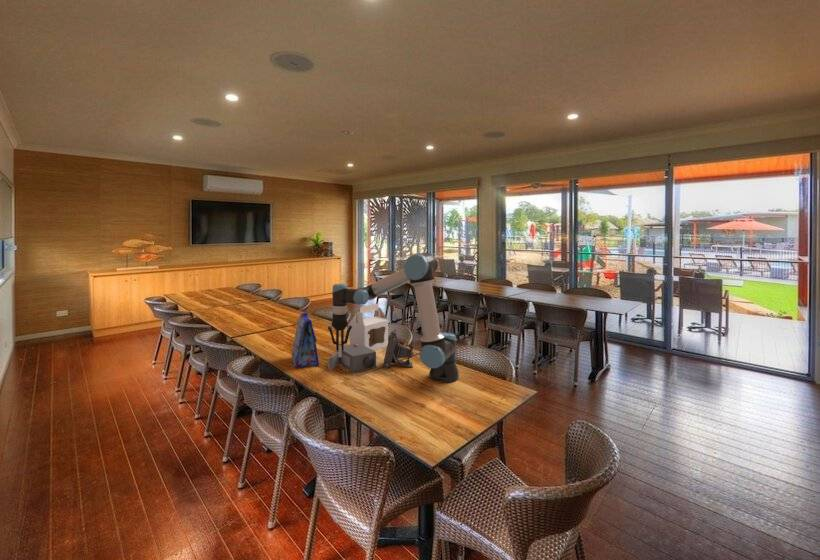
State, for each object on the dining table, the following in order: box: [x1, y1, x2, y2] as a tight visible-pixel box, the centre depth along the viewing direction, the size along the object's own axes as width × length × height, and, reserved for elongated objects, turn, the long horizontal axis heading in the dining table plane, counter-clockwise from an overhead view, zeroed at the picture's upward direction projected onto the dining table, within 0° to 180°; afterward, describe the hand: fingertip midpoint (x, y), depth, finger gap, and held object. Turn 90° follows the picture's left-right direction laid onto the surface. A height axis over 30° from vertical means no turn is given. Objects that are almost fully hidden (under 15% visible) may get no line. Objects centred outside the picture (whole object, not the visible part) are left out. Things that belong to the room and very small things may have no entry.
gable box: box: [349, 302, 389, 351], centre depth 248 cm, size 22×13×28 cm, turn 141°
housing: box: [336, 343, 377, 373], centre depth 215 cm, size 22×14×10 cm, turn 35°
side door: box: [327, 351, 341, 371], centre depth 210 cm, size 13×2×7 cm, turn 165°
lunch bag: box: [291, 311, 320, 369], centre depth 220 cm, size 22×14×29 cm, turn 22°
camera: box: [383, 329, 415, 369], centre depth 216 cm, size 11×17×20 cm, turn 90°
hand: (339, 356), depth 207 cm, fingers closed
